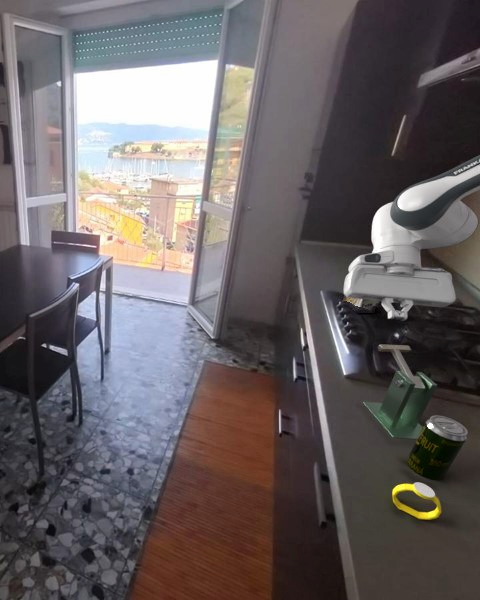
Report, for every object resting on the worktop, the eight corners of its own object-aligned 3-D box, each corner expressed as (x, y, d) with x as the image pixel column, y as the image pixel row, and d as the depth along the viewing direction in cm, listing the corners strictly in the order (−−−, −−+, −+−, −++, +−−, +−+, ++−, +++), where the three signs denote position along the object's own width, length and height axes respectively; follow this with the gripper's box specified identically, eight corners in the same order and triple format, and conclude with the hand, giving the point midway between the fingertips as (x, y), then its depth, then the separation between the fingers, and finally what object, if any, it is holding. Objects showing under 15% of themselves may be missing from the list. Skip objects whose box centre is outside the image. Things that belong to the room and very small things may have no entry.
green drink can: (424, 460, 71) (449, 414, 66) (449, 484, 66) (478, 436, 61) (397, 460, 71) (420, 414, 66) (420, 484, 66) (447, 437, 61)
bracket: (361, 405, 86) (379, 361, 80) (397, 407, 85) (418, 363, 79) (391, 441, 76) (414, 393, 70) (433, 444, 75) (459, 396, 69)
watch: (387, 507, 63) (399, 484, 60) (387, 496, 64) (399, 473, 62) (433, 529, 59) (448, 505, 57) (432, 516, 61) (446, 492, 58)
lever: (375, 348, 83) (381, 342, 81) (403, 349, 82) (410, 344, 80) (397, 392, 76) (404, 387, 74) (428, 394, 75) (436, 389, 73)
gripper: (441, 274, 85) (446, 329, 81) (341, 266, 91) (340, 317, 87) (460, 263, 79) (465, 321, 75) (351, 255, 86) (351, 308, 82)
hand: (397, 319), depth 81 cm, fingers closed
